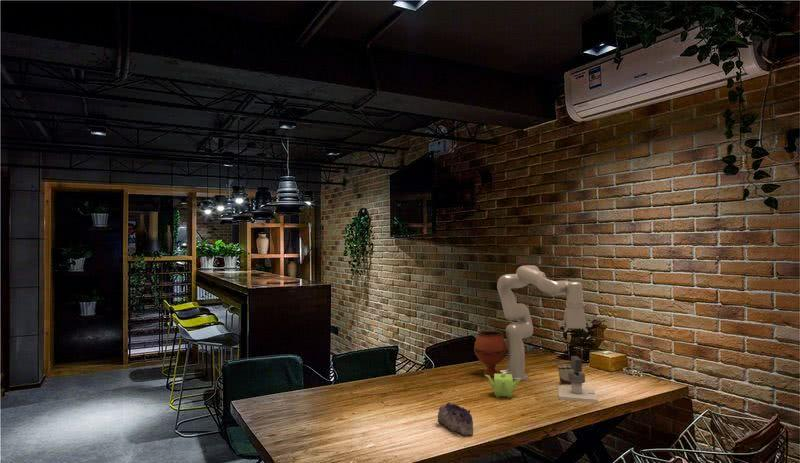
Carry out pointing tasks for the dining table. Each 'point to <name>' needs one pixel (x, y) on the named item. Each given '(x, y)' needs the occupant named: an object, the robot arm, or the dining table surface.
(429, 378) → the dining table surface
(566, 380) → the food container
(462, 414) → the geode
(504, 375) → the kettle
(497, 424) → the dining table surface
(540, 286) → the robot arm
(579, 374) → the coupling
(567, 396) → the post base
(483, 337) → the goblet
